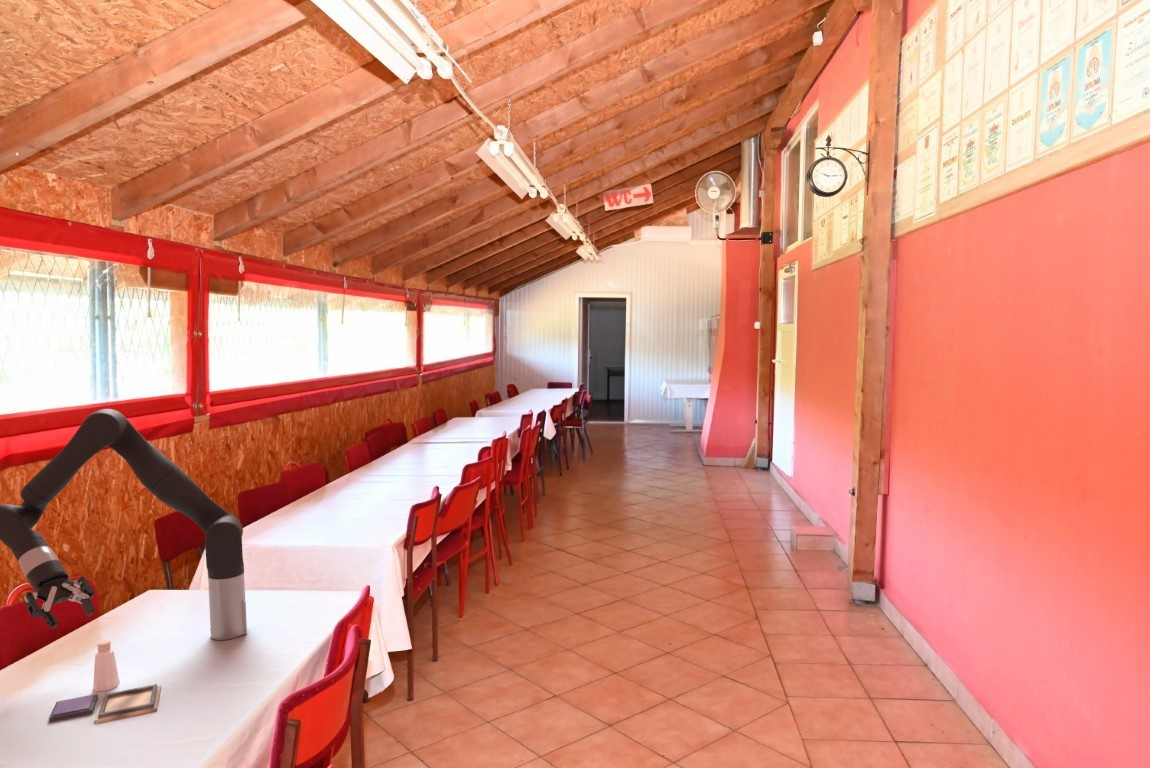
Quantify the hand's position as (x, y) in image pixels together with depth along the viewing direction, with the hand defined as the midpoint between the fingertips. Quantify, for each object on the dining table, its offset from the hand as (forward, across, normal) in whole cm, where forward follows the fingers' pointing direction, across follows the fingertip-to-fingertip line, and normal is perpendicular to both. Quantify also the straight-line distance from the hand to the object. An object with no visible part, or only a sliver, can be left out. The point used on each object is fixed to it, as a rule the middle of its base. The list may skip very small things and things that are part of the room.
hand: (73, 619), depth 181 cm
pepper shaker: (+18, 0, +3) cm, 19 cm away
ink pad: (+22, -10, -1) cm, 24 cm away
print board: (+28, -4, -7) cm, 29 cm away
